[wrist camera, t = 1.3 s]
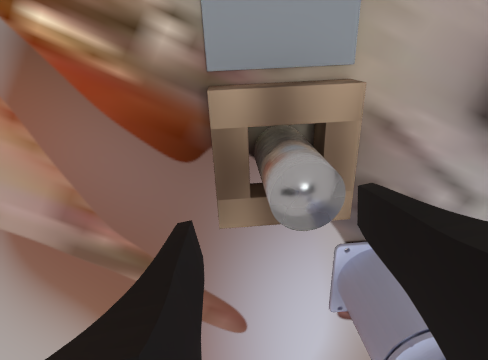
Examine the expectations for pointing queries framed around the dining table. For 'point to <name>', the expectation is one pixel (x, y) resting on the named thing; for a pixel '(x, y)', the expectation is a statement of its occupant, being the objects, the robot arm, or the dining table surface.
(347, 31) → the slate mat
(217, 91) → the socket block
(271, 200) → the steel peg
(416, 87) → the dining table surface
